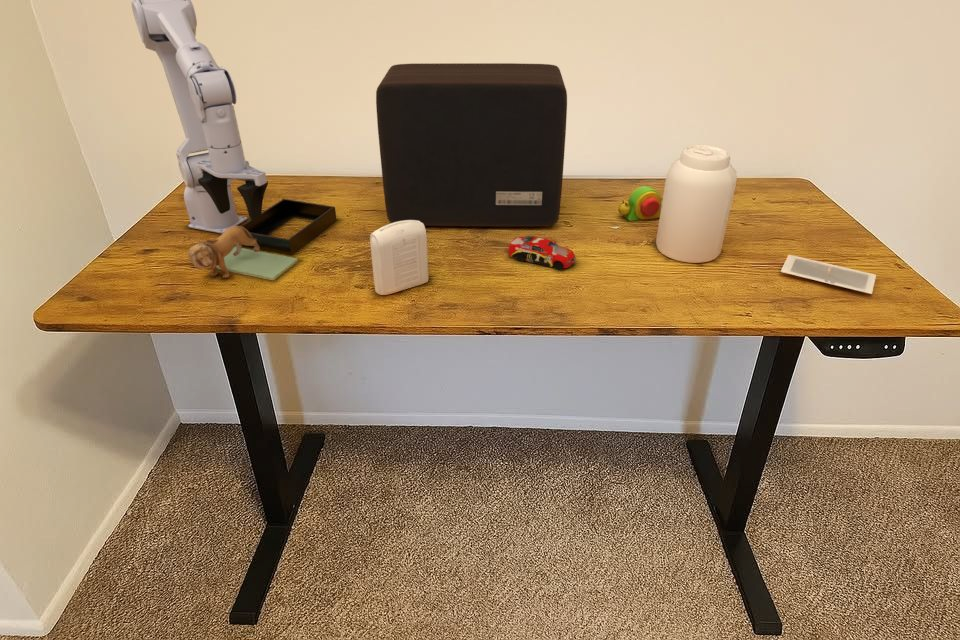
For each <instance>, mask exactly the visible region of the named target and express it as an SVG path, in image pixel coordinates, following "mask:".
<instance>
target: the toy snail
mask: <svg viewBox="0 0 960 640" xmlns="http://www.w3.org/2000/svg"><path fill="white" fill-rule="evenodd" d="M661 207H662V196H661V194H660V192H659V191H657V190H656V189H654V188H652V187H651V186H648V185H643V186H639V187H637V188H635V189H634V190H633V191H632V192H631V193H630V195H629V197H628V200H626V199H624V200H622V203H621V204H620V205H619V206H618V212H619V214H620V215H622V216H623V217H624V218H625V219H626V220H628V221H629V222H634V221H640V220H653V219H658V218H659V219H660V213H661Z"/></svg>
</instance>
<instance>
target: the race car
mask: <svg viewBox="0 0 960 640" xmlns="http://www.w3.org/2000/svg"><path fill="white" fill-rule="evenodd" d="M507 253H508V256H510V257H511V258H513V259H516V260H517V261H518V262H524V261H525V262H529V263H534V264H538V265H543V266H546V267H553V268H554V269H555V270H556V271H561V270H562V269H567V268H570V267H572V266H574V265H575V263H576V256H575V252H574V251H573V250H571V249H570V248H567V247H565V246H563V245H562V246H561V245H559V244H557V242H556V241H553V240H551V239H549V238H545V237H541V236H533V235H532V236H531V235H526V236H518V237H515V238H513V239H512V240H511V241H510V243H509V246H508V248H507Z"/></svg>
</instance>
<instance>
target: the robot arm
mask: <svg viewBox="0 0 960 640" xmlns="http://www.w3.org/2000/svg"><path fill="white" fill-rule="evenodd" d="M131 8H132V9H131V10H132V15H133V17H134V21H135V24H136V27H137V29H138V33H139V36H140V38H141V41H142V44H144V47H145V49H147V50H149V51H153V52H155V53H156V55H157V57H158V58H159V61H160V62H161V64H162V68H163V70H164V74H165V77H166V80H167V83H168V86H169V88H170V92H171V95H172V99H173V101H174V105H175V107H176V111H177V114H178V117H179V120H180V123H181V126H182V129H183V132H184V136H185V140H184V141H182V143H181V144H180V145H179V146H178V148H177V149H176V158H177V163H178V168H179V171H180V175H181V178H182V180H183V182H184V184H185V188H184V191H183V201H184V204H185V208H186V211H187V214H188V219H189V222H190V223H189V224H188V225H187V226H188V228H190V229H195V230H200V231H205V232H212V233H217V234H220V235H222V234H223V233H224V231H225V230H226V229H227V228H229V227H233V226H240V225H242V224H243V223H244V222H247V220H248V217H249V219H250V220H251V221H256V220H257V219H259V218H261V214H262V212H263V211H262V210H263V202H264V201H263V200H264V196H265V193H266V190H267V187H268V185H269V182H268V180H267V174H266V172H265V171H262V170H259V169H257V168H255V167H253V166H251V165H250V162H249V161H248V160H246V157H245V152H244V148H243V143H242V139H241V135H240V130H239V129H240V128H239V125H238V120H237V114H236V110H235V106H234V105H236V104H237V93H236V87H235V84H234V81H233V78H232V76H231V74H230V72H229V70H228V69H227V68H225V67H223V66H219V65H218V63H217V62H216V60H215V59H214V57H213V54H212V53H211V52H210V50H209V48H208V47H207V46H206V45H205V44H204V43H202V42H200V41H197V39H196V35H197V27H198V21H197V15H196V10H195V7H194V5H193V2H192V0H131ZM205 151H208V152H205ZM200 152H203V153H200ZM195 153H199V154H195ZM190 154H193V155H190ZM233 180H236V181H241V182H244V183H243V184H241V185H239V186H237V187H236V188H237V191H238V193H239V194H240V196H241V197H242V199H243V202H244V205H245V207H246V210H247V214H248V217H247V216H245V215H244V216H243V215H238V211H237V207H236V203H235V198H234V195H233V190H232V186H231V185H233Z"/></svg>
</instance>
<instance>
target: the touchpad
mask: <svg viewBox="0 0 960 640" xmlns="http://www.w3.org/2000/svg"><path fill="white" fill-rule="evenodd" d="M780 273H784V274H788V275H792V276H795V277H801V278H804V279H808V280H814V281H817V282H821V283H825V284H829V285H833V286H837V287H841V288H846V289H850V290H852V291H857V292H861V293H865V294H870V295H872V294H873V291H874V288H875V287H874V286H875V283H876V278H877V274H875V273H870V272H867V271H862V270H857V269H853V268H849V267H846V266H845V267H844V266H842V265H841V266H840V265H835V264H831V263H827V262H823V261H819V260H815V259H811V258H810V259H809V258H806V257H802V256H797V255H793V254H788V255H787V257H786V259H785V261H784V264H783V265H782V268H781V270H780Z"/></svg>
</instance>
